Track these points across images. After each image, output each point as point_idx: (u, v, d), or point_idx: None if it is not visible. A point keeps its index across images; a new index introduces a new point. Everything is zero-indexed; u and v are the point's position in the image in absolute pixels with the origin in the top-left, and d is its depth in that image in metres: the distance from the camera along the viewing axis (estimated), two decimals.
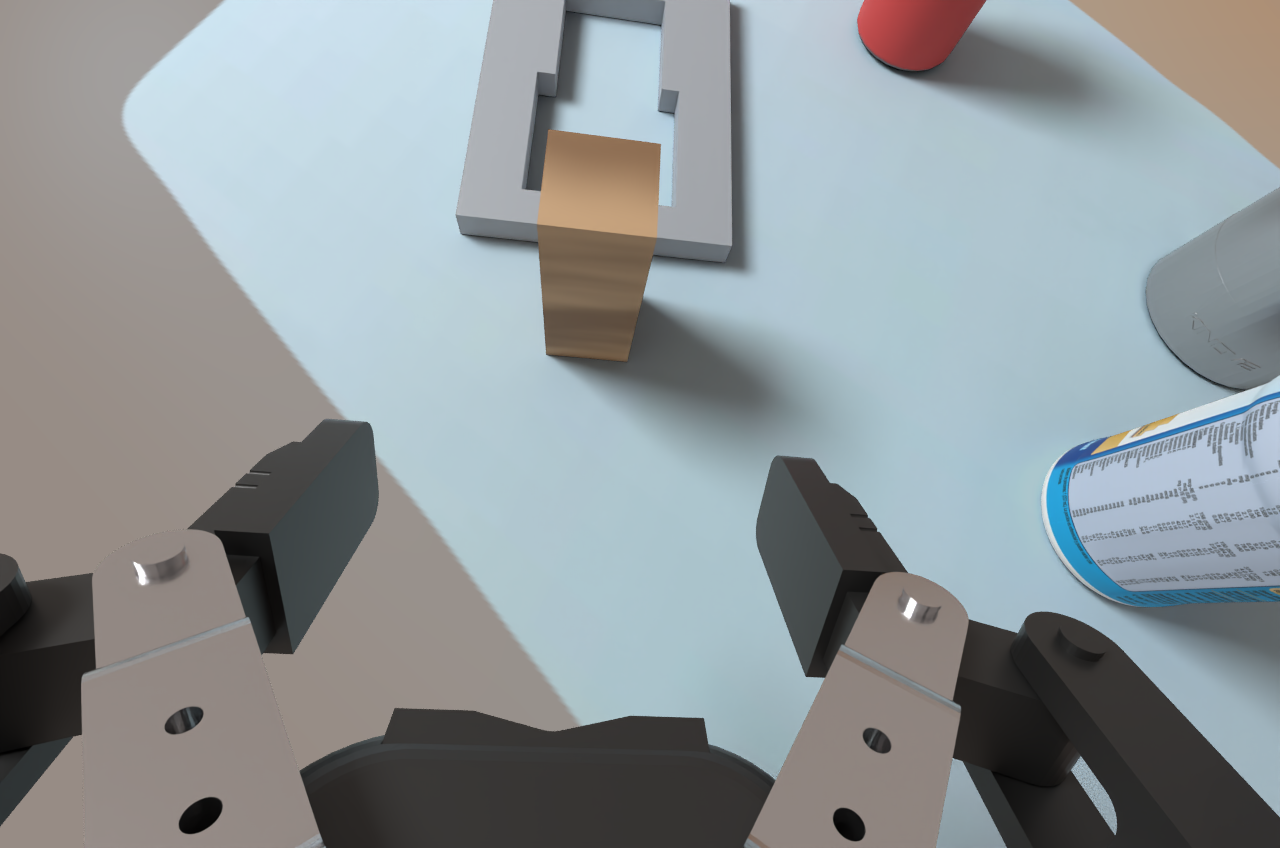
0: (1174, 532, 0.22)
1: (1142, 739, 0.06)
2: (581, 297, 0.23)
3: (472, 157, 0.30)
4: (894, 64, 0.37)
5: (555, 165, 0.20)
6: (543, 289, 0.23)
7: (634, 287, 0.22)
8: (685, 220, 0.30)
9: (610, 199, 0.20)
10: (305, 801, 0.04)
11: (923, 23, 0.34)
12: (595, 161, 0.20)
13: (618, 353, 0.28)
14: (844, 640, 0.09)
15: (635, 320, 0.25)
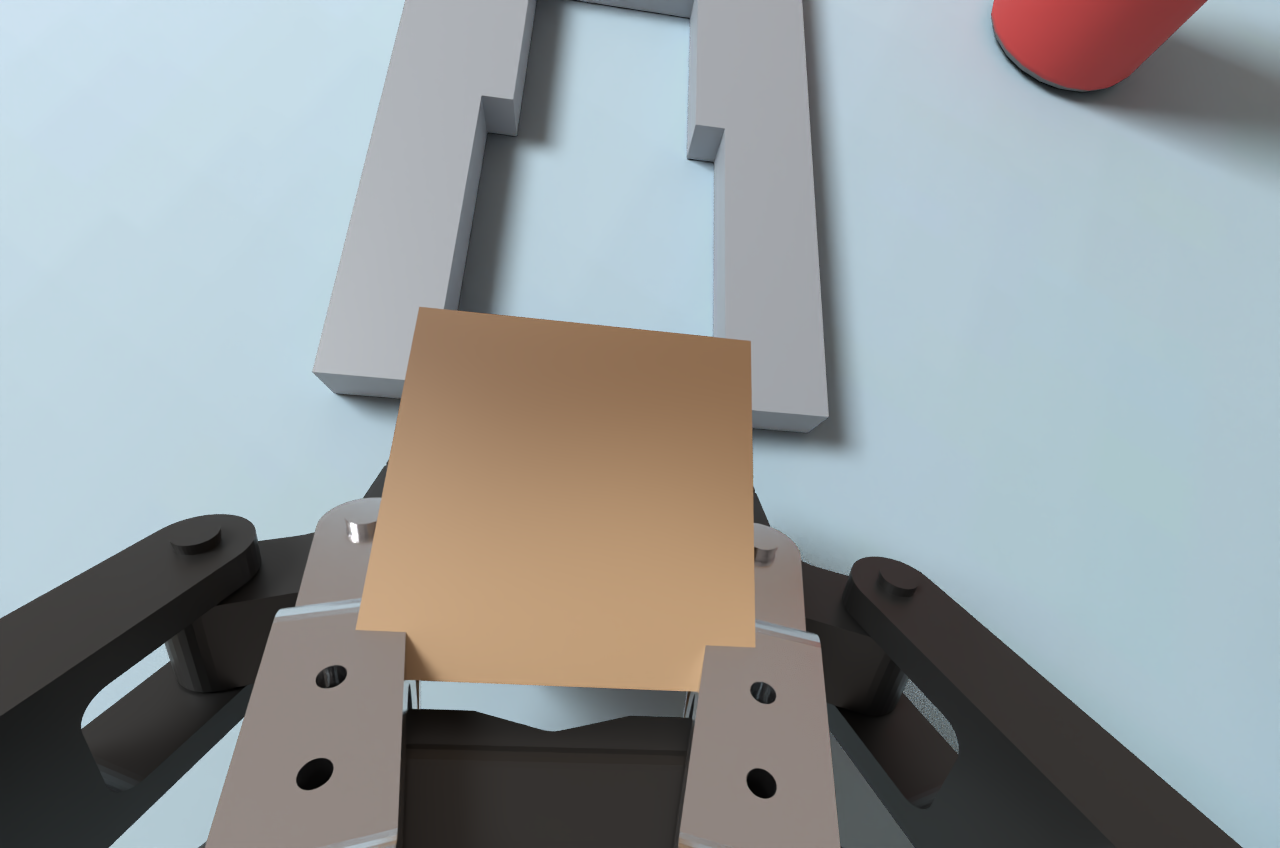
0: None
1: (962, 660, 0.07)
2: None
3: (354, 255, 0.16)
4: (1055, 81, 0.24)
5: (430, 434, 0.06)
6: None
7: None
8: None
9: (601, 553, 0.06)
10: (396, 794, 0.04)
11: (1123, 15, 0.21)
12: (558, 411, 0.07)
13: None
14: None
15: None
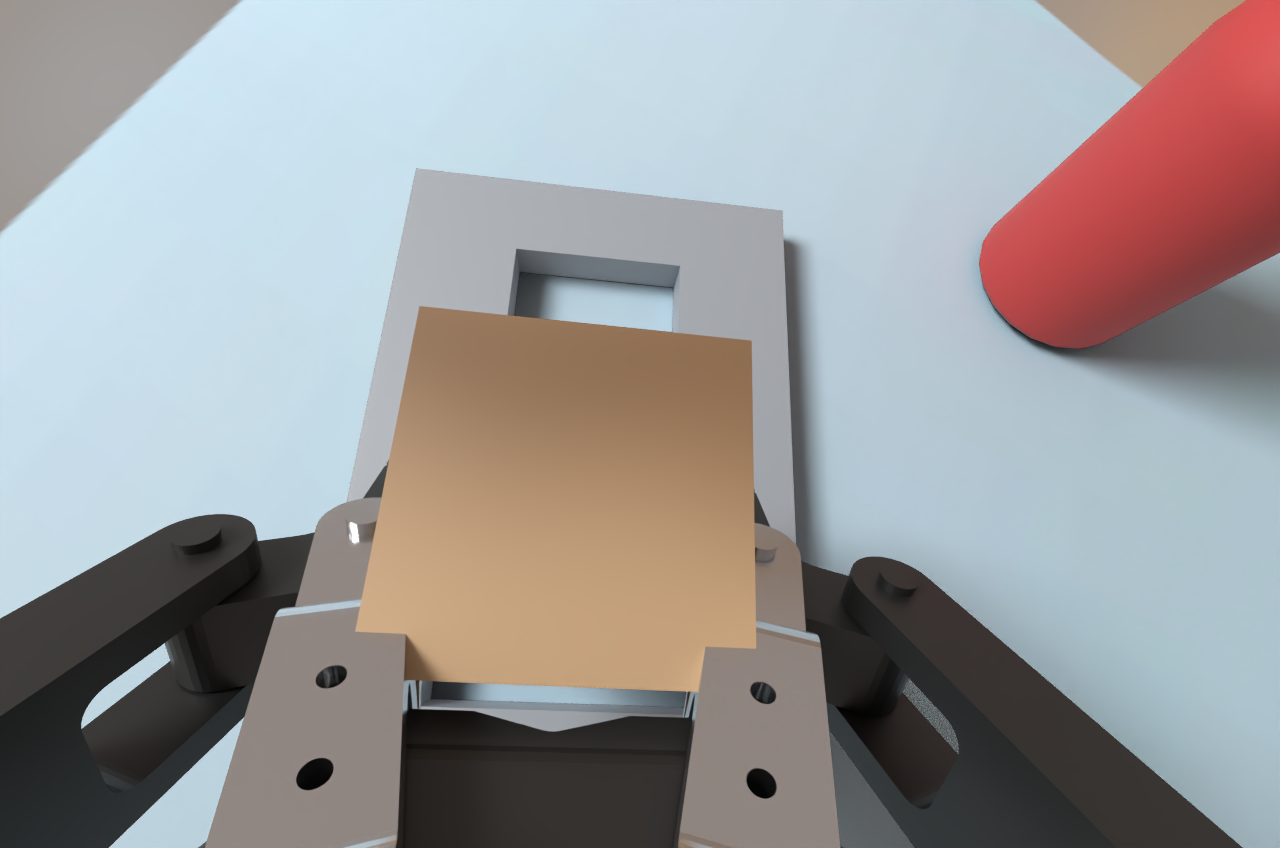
0: None
1: (962, 660, 0.07)
2: None
3: None
4: (1043, 341, 0.23)
5: (430, 433, 0.06)
6: None
7: None
8: None
9: (602, 552, 0.06)
10: (396, 794, 0.04)
11: (1110, 309, 0.21)
12: (559, 410, 0.07)
13: None
14: None
15: None
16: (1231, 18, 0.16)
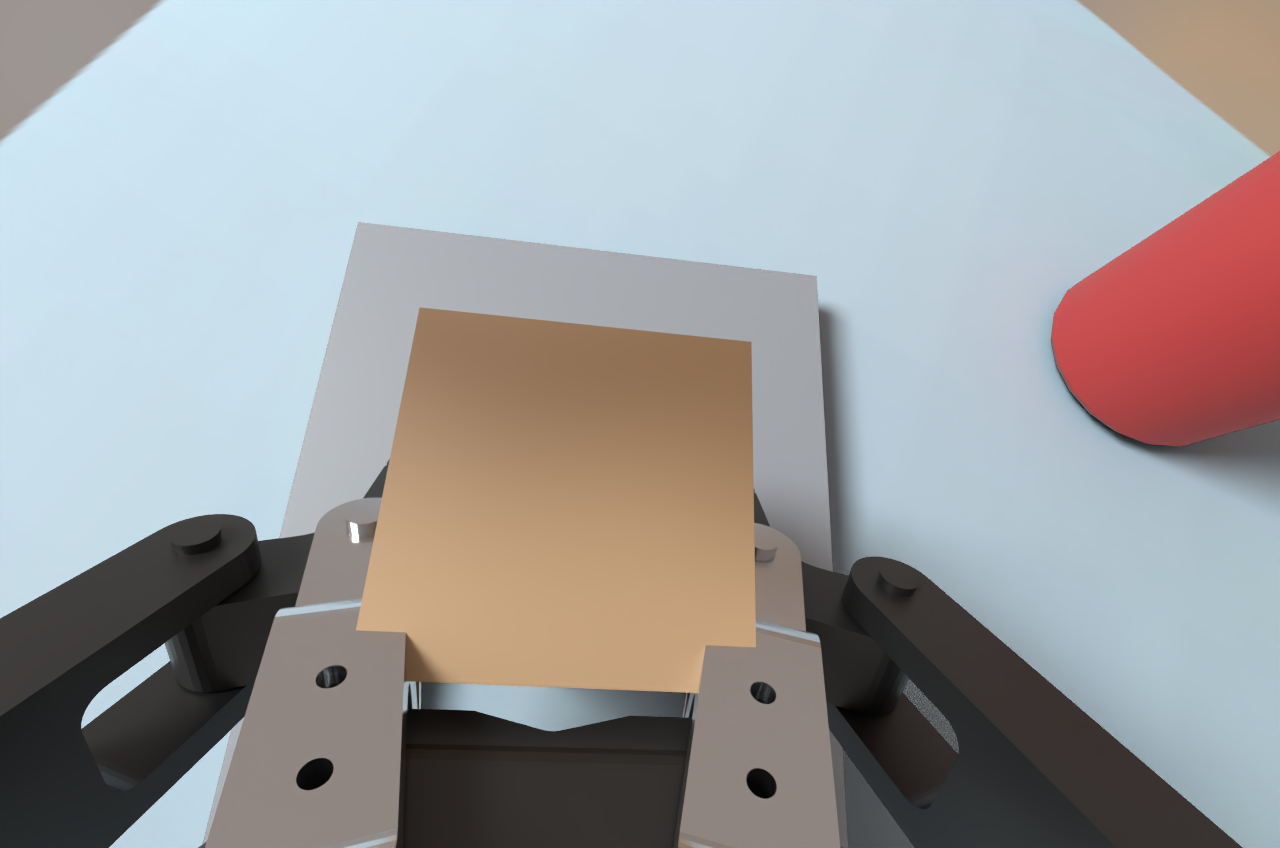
0: None
1: (962, 660, 0.07)
2: None
3: None
4: (1132, 437, 0.19)
5: (429, 434, 0.06)
6: None
7: None
8: None
9: (602, 554, 0.06)
10: (396, 795, 0.04)
11: (1233, 412, 0.16)
12: (559, 411, 0.07)
13: None
14: None
15: None
16: None
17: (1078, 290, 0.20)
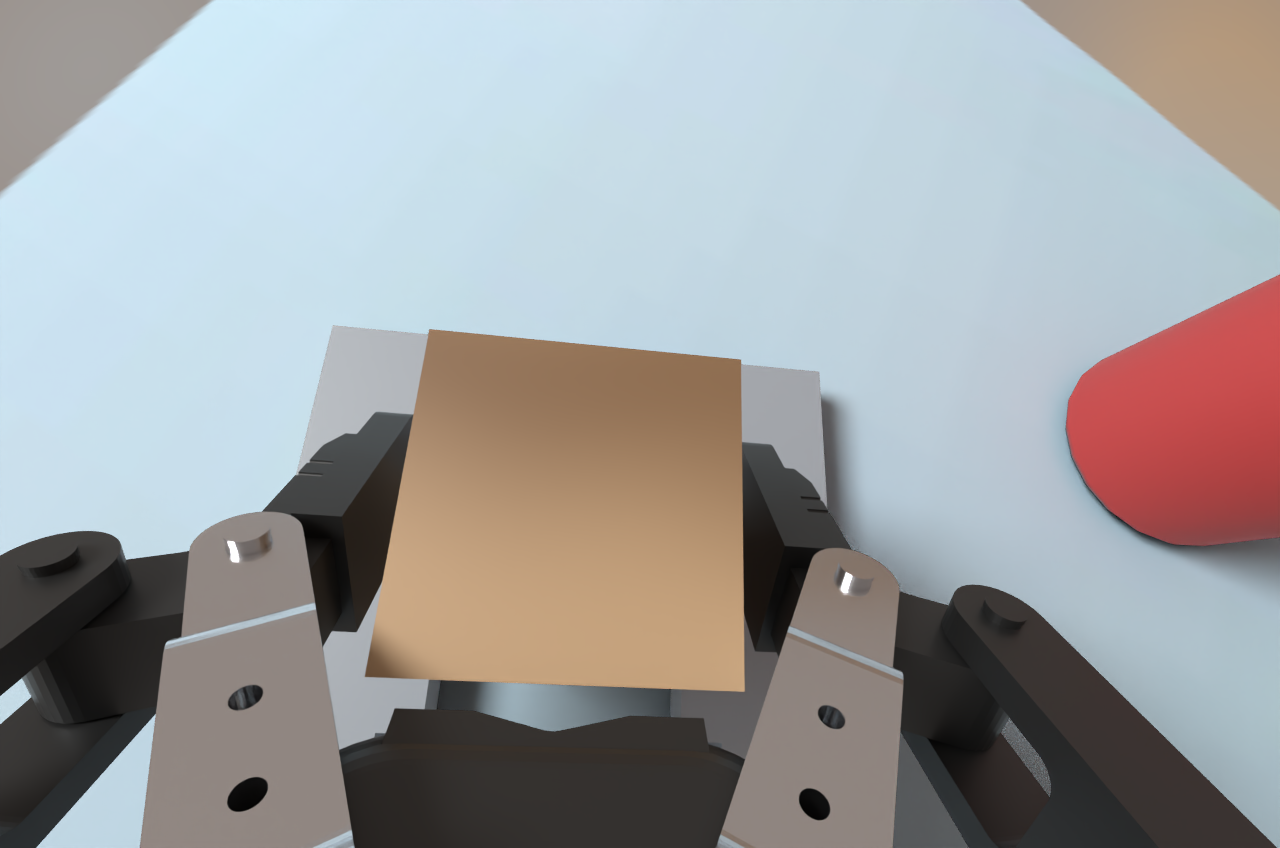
0: None
1: (1066, 701, 0.07)
2: None
3: None
4: (1153, 536, 0.18)
5: (439, 449, 0.07)
6: None
7: None
8: None
9: (600, 560, 0.07)
10: (342, 795, 0.04)
11: (1264, 527, 0.15)
12: (560, 427, 0.07)
13: None
14: (787, 614, 0.09)
15: None
16: None
17: (1094, 378, 0.19)
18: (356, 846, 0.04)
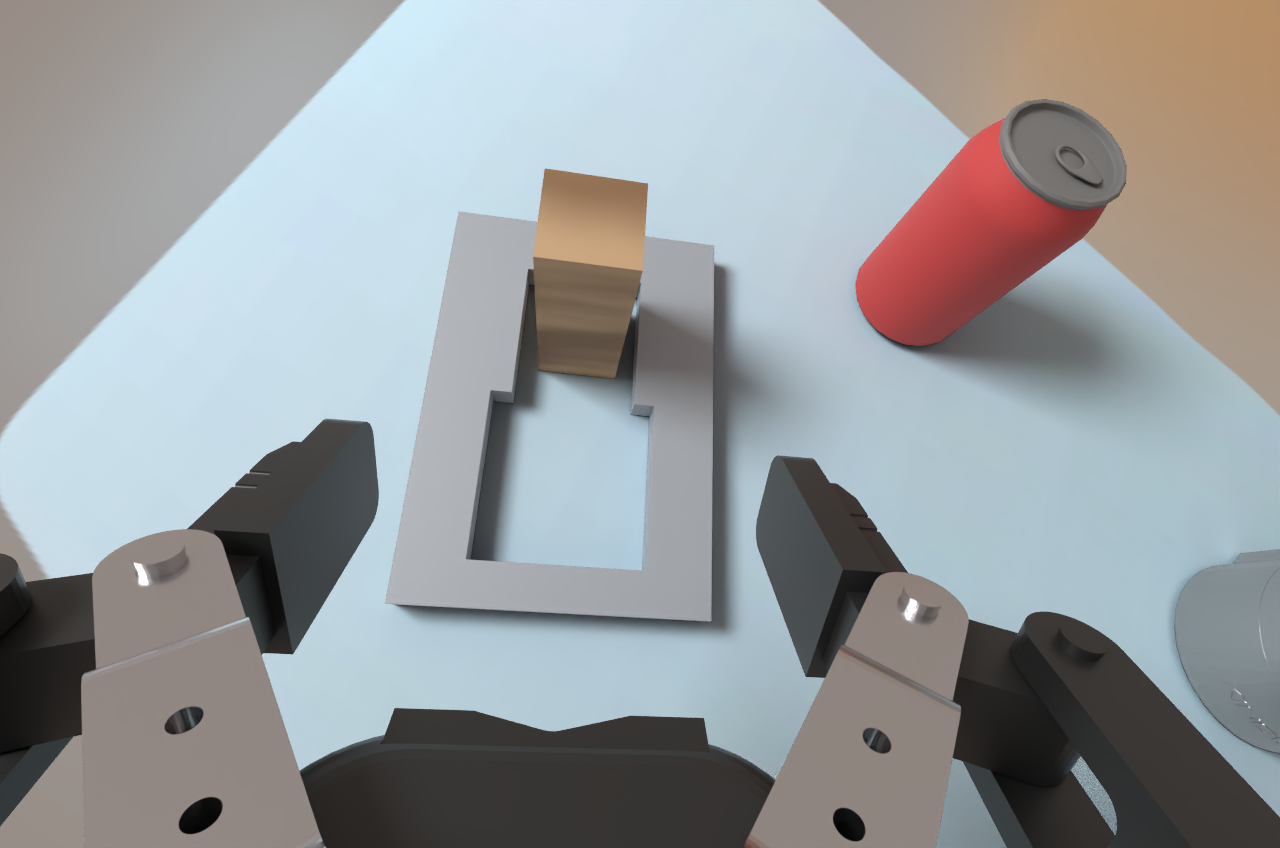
0: None
1: (1142, 739, 0.06)
2: (572, 320, 0.25)
3: (409, 518, 0.25)
4: (896, 340, 0.33)
5: (550, 202, 0.22)
6: (537, 312, 0.25)
7: (622, 312, 0.24)
8: (657, 589, 0.26)
9: (600, 235, 0.22)
10: (305, 800, 0.04)
11: (930, 317, 0.31)
12: (587, 199, 0.22)
13: (606, 371, 0.30)
14: (844, 640, 0.09)
15: (622, 341, 0.27)
16: (972, 141, 0.26)
17: (869, 257, 0.34)
18: None
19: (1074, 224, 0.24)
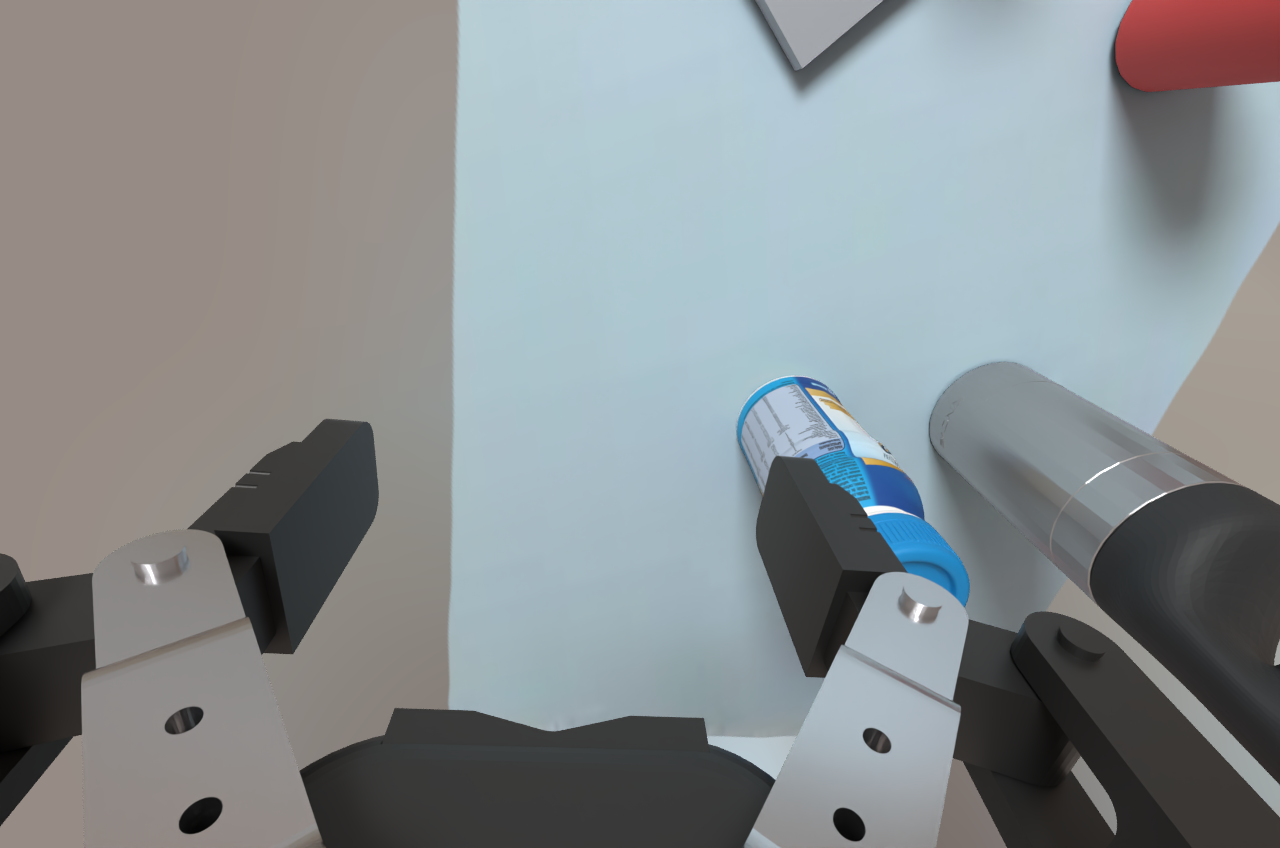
0: (763, 437, 0.39)
1: (1142, 739, 0.06)
2: None
3: None
4: (1116, 50, 0.35)
5: None
6: None
7: None
8: (798, 11, 0.32)
9: None
10: (305, 801, 0.04)
11: (1155, 48, 0.32)
12: None
13: None
14: (844, 640, 0.09)
15: None
16: None
17: None
18: None
19: None
